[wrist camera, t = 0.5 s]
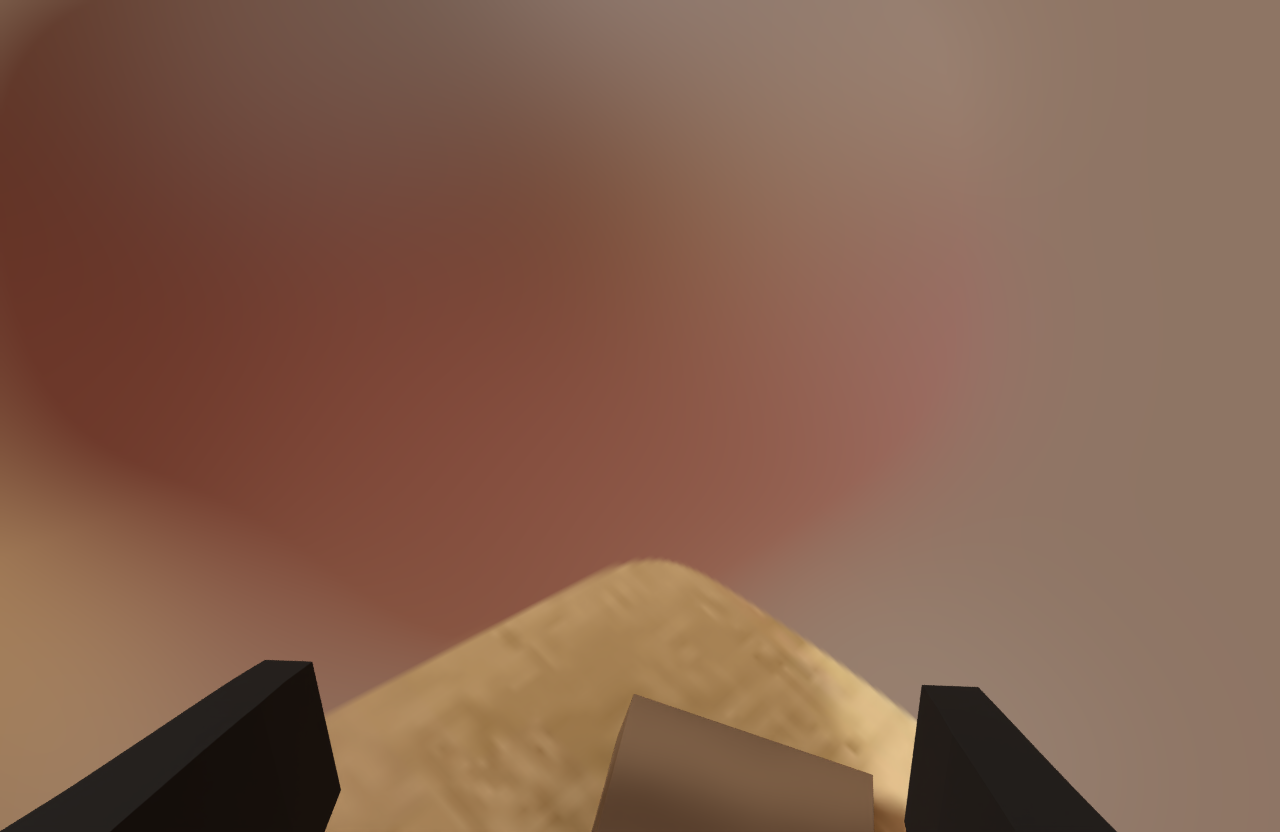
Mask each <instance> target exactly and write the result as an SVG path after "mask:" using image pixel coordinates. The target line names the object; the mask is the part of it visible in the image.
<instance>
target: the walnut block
mask: <svg viewBox="0 0 1280 832" xmlns="http://www.w3.org/2000/svg"><path fill="white" fill-rule="evenodd" d="M592 832H874V807H873V775H871V774H868V773H865V772H862V771H859V770H857V769H854V768H851V767H848V766H845V765H842V764H839V763H836V762H833V761H830V760H827V759H824V758H821V757H818V756H815V755H812V754H809V753H806V752H804V751H801V750H798V749H795V748H792V747H789V746H786V745H783V744H780V743H777V742H774V741H771V740H768V739H765V738H762V737H759V736H756V735H754V734H751V733H748V732H745V731H742V730H739V729H736V728H733V727H730V726H727V725H724V724H721V723H718V722H715V721H712V720H709V719H706V718H704V717H701V716H698V715H695V714H692V713H689V712H686V711H683V710H680V709H677V708H674V707H671V706H668V705H665V704H662V703H659V702H656V701H653V700H651V699H648V698H645V697H642V696H639V695H636V694H634V695H633V698H632V700H631V703H630V706H629V708H628V711H627V713H626V716H625V719H624V721H623V724H622V727H621V729H620V732H619V734H618V737H617V741H616V744H615V748H614V752H613V755H612V759H611V763H610V766H609V770H608V774H607V777H606V781H605V785H604V788H603V792H602V796H601V799H600V803H599V806H598V810H597V814H596V817H595V821H594V825H593V828H592Z"/></svg>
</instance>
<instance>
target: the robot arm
mask: <svg viewBox="0 0 1280 832" xmlns="http://www.w3.org/2000/svg"><path fill="white" fill-rule="evenodd" d="M340 791H341V788H340V784H339V779H338V775H337V770H336V766H335V761H334V757H333V752H332V748H331V743H330V739H329V734H328V730H327V726H326V721H325V717H324V712H323V708H322V703H321V699H320V694H319V690H318V686H317V681H316V676H315V672H314V667H313V663H312V662H306V661H279V660H278V661H277V660H264V661H263V662H261V663H259V664H257V665H256V666H254V667H252V668H251V669H249V670H247V671H246V672H244V673H242V674H241V675H240V676H238V677H236V678H234V679H233V680H231V681H230V682H228V683H227V684H225V685H224V686H222V687H220V688H219V689H218V690H216V691H214V692H213V693H211V694H210V695H208V696H207V697H205V698H204V699H202V700H201V701H199V702H198V703H196V704H195V705H193V706H192V707H190V708H189V709H187V710H186V711H184V712H183V713H181V714H180V715H178V716H177V717H175V718H174V719H173V720H171V721H169V722H168V723H166V724H165V725H163V726H162V727H160V728H159V729H158V730H156V731H155V732H153V733H151V734H150V735H149V736H147V737H146V738H144V739H143V740H141V741H139V742H138V743H136V744H135V745H133V746H132V747H130V748H129V749H127V750H126V751H124V752H123V753H121V754H120V755H118V756H117V757H115V758H114V759H112V760H111V761H109V762H108V763H106V764H105V765H103V766H102V767H100V768H99V769H97V770H96V771H94V772H93V773H91V774H90V775H88V776H87V777H85V778H84V779H82V780H81V781H79V782H78V783H76V784H75V785H73V786H71V787H70V788H68V789H67V790H65V791H64V792H62V793H61V794H59V795H57V796H56V797H54V798H53V799H51V800H49V801H48V802H46V803H45V804H43V805H41V806H40V807H38V808H37V809H35V810H33V811H32V812H30V813H29V814H27V815H25V816H24V817H22V818H21V819H19V820H17V821H16V822H14V823H13V824H11V825H9V826H8V827H6V828H5V829H3V830H1V831H0V832H325V829H326V827H327V824H328V822H329V819H330V817H331V814H332V811H333V809H334V806H335V804H336V801H337V799H338V796H339V794H340ZM904 822H905V827H906V832H1116V830H1115V829H1114V828H1113V827H1112V826H1110V824H1108V823H1107V822H1106V820H1105V819H1104V818H1103V817H1102V816H1101V815H1100V814H1099V813H1098V812H1097V811H1096V810H1095V809H1094V808H1093V807H1092V806H1091V805H1090V804H1089V803H1088V802H1087V801H1086V800H1085V799H1084V798H1083V797H1082V796H1081V795H1080V794H1079V793H1078V792H1077V791H1076V790H1075V789H1074V788H1073V787H1072V786H1071V785H1070V784H1069V782H1068V781H1067V780H1066V779H1064V777H1063V776H1062V775H1061V774H1060V773H1059V772H1058V771H1057V770H1056V769H1055V768H1054V767H1053V766H1052V765H1051V764H1050V763H1049V761H1048V760H1047V759H1046V758H1045V757H1044V756H1043V755H1042V754H1041V753H1040V752H1039V751H1038V750H1037V749H1036V748H1035V747H1034V745H1032V743H1031V742H1030V741H1029V740H1028V739H1027V738H1026V737H1025V736H1024V735H1023V734H1022V733H1021V732H1020V731H1019V730H1018V728H1017V727H1016V726H1015V725H1014V724H1013V723H1012V722H1011V721H1010V720H1009V719H1008V718H1007V717H1006V716H1005V715H1004V714H1003V713H1002V712H1001V710H1000V709H999V708H998V707H997V706H996V705H995V704H994V703H993V702H992V701H991V700H990V699H989V698H988V697H987V696H986V695H985V694H984V693H983V692H982V691H981V690H980V688H978V687H961V686H935V685H933V686H932V685H922V688H921V696H920V704H919V711H918V719H917V727H916V735H915V742H914V750H913V758H912V766H911V773H910V781H909V789H908V797H907V805H906V812H905V820H904Z"/></svg>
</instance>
